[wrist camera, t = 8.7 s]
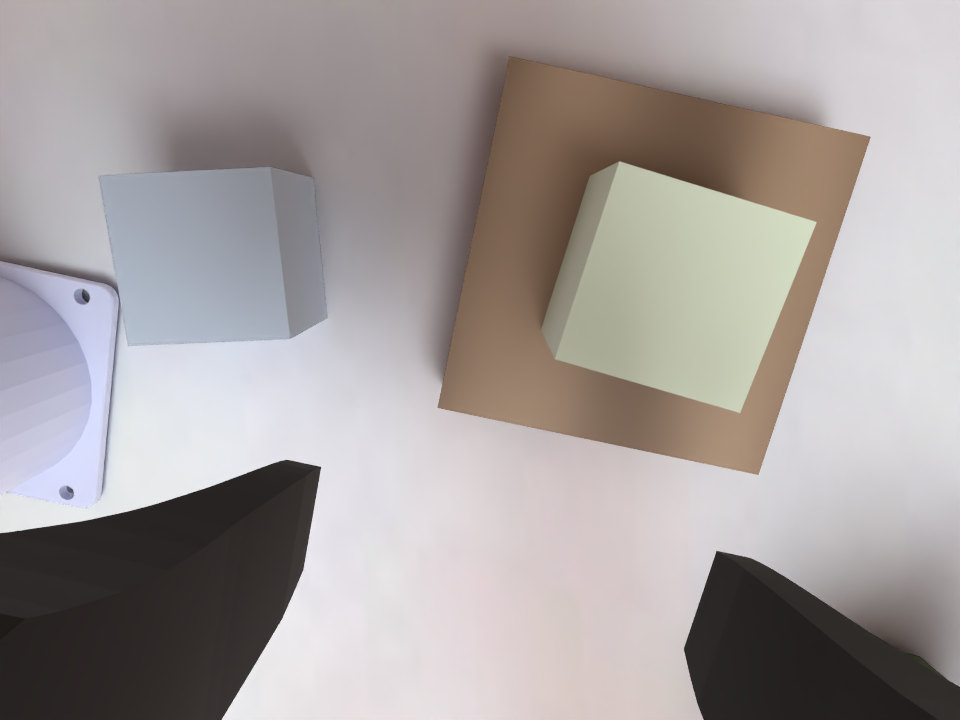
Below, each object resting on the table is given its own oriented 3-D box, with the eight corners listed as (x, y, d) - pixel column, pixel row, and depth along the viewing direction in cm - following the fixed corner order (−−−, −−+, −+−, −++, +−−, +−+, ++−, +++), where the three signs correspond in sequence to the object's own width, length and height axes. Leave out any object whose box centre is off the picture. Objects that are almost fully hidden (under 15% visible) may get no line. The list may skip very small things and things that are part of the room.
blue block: (196, 323, 21) (127, 345, 17) (176, 184, 20) (98, 175, 16) (328, 317, 21) (290, 338, 17) (314, 177, 20) (270, 166, 16)
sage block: (540, 329, 18) (554, 358, 14) (589, 175, 17) (619, 161, 13) (686, 372, 18) (740, 413, 14) (743, 222, 17) (816, 222, 13)
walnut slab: (445, 382, 22) (437, 407, 19) (507, 81, 19) (509, 56, 16) (722, 441, 22) (758, 474, 19) (814, 149, 20) (870, 137, 17)
